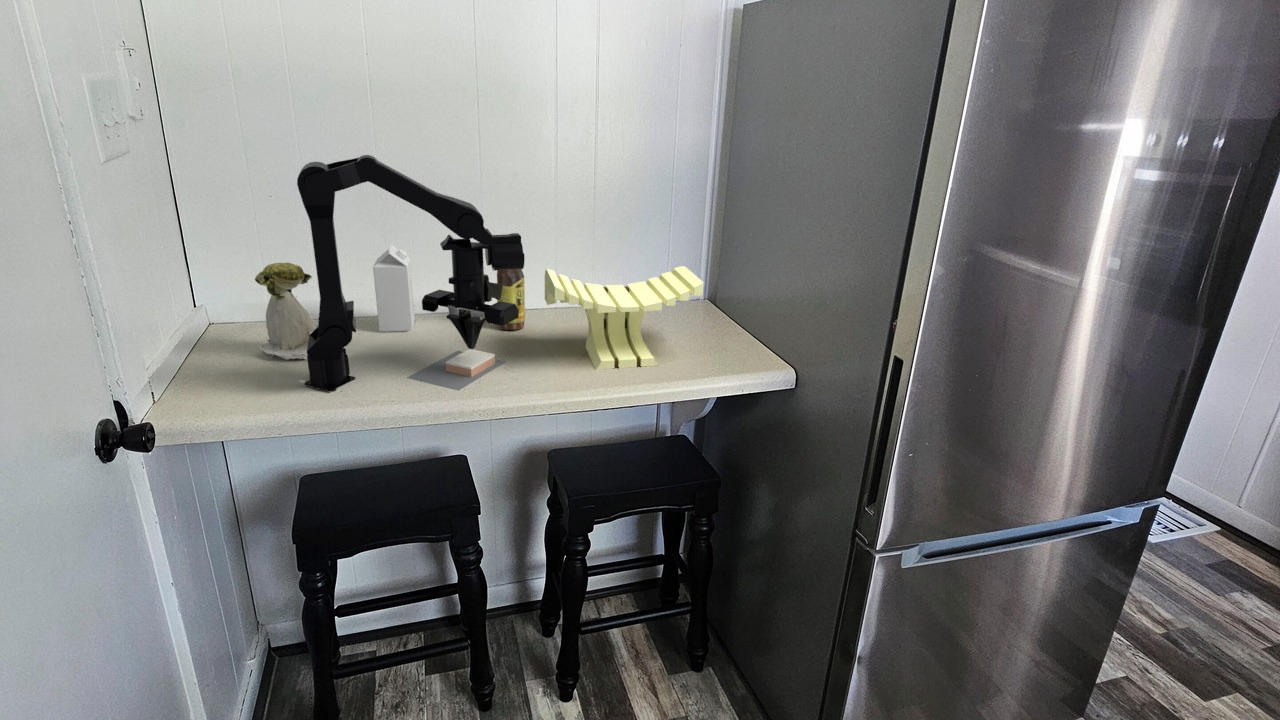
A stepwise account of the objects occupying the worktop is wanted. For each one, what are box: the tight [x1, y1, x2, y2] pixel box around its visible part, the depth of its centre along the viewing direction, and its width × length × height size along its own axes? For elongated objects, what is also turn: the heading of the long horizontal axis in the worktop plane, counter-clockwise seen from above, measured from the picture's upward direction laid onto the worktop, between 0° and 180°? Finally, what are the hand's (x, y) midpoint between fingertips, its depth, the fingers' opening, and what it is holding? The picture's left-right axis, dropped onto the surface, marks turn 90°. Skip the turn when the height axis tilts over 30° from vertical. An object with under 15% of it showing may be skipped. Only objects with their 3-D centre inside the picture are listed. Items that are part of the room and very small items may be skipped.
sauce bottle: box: [496, 269, 526, 331], centre depth 162 cm, size 6×6×20 cm
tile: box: [445, 348, 496, 377], centre depth 141 cm, size 8×2×6 cm
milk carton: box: [372, 240, 416, 333], centre depth 159 cm, size 7×7×19 cm
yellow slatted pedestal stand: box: [544, 265, 705, 370], centre depth 150 cm, size 30×16×18 cm, turn 104°
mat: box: [406, 350, 507, 391], centre depth 141 cm, size 16×12×1 cm
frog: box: [254, 262, 316, 360], centre depth 143 cm, size 12×13×18 cm
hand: (471, 348), depth 140 cm, fingers closed
